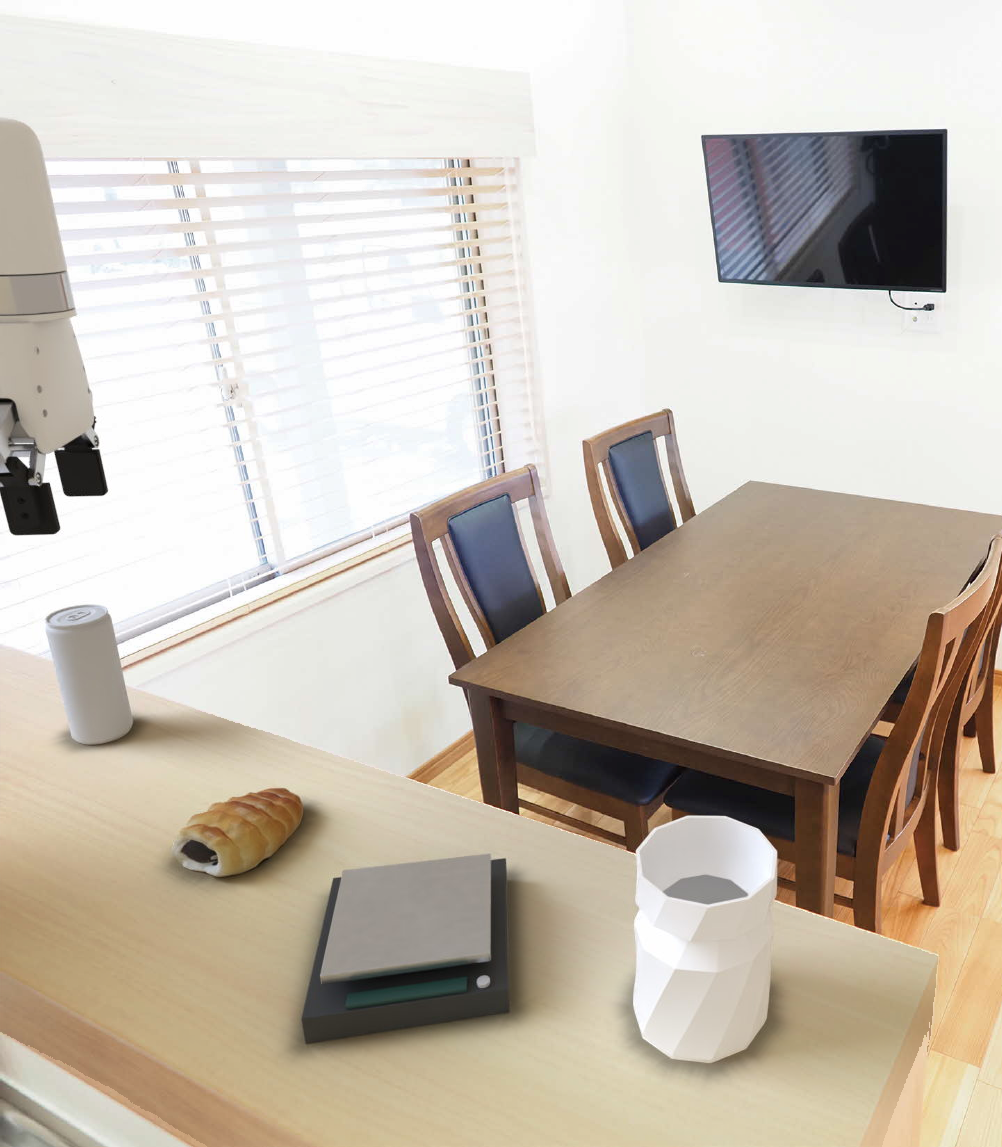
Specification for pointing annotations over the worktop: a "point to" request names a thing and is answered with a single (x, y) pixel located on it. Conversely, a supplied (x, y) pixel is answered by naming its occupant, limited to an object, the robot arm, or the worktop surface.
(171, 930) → the worktop surface
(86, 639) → the beverage can
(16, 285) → the robot arm
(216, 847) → the pastry
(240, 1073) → the worktop surface
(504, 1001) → the scale
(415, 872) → the scale pan
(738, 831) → the vase
